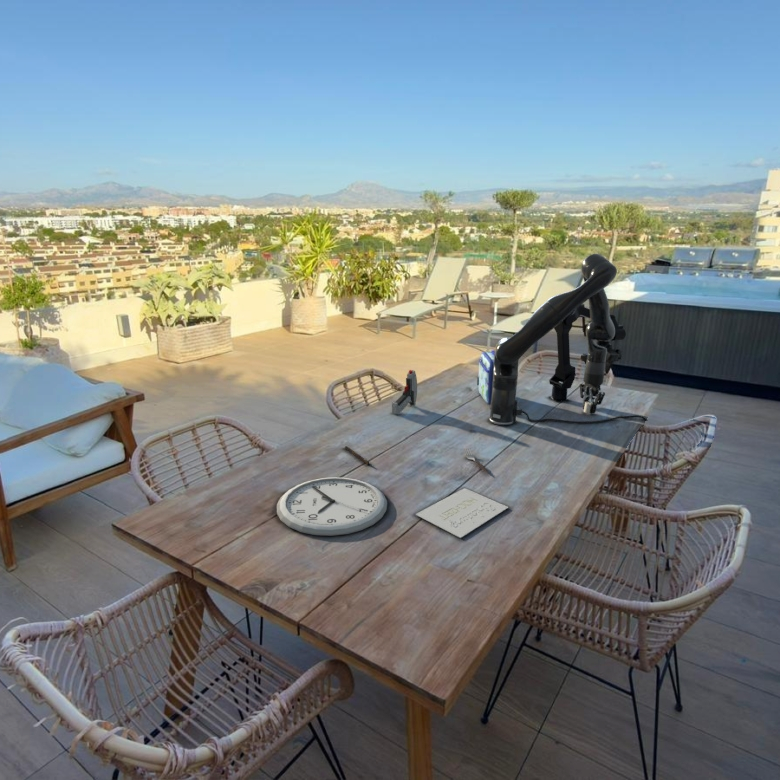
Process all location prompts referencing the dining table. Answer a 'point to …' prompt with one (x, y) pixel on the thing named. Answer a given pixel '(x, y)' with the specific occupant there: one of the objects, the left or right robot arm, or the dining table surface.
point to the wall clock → (331, 506)
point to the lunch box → (486, 375)
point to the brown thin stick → (357, 455)
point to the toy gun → (407, 394)
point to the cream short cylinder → (587, 407)
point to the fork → (474, 459)
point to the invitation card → (461, 512)
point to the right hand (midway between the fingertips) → (598, 374)
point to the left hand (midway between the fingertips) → (588, 411)
